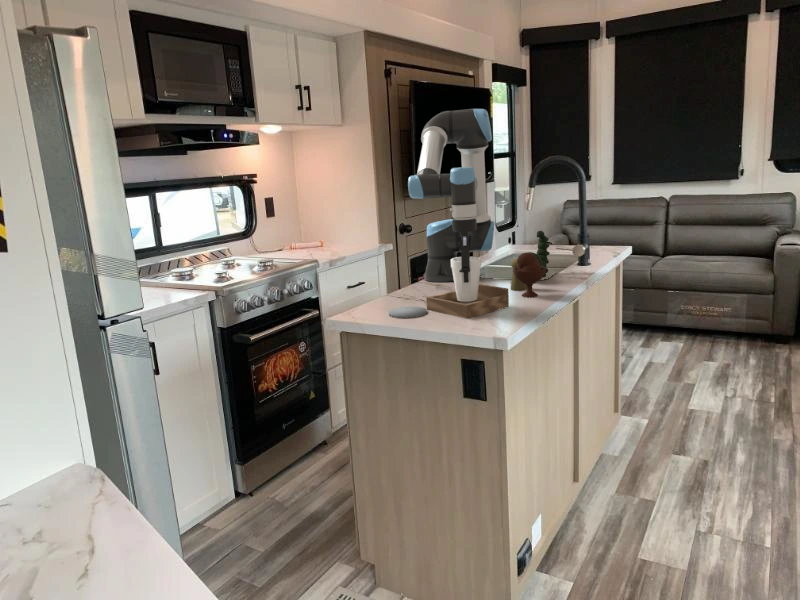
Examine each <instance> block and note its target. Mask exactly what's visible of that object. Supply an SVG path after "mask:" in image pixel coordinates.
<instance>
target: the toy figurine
mask: <svg viewBox="0 0 800 600" xmlns="http://www.w3.org/2000/svg"><path fill="white" fill-rule="evenodd" d="M536 238H538V243H537V251H536V253H535V252H532V251H531V252H530V251H529V252H526V253H531V254H533V255H534V256H535V257H536V259H538V261H539V262H540V266H543V267H545V268H546V273H545V275H544V276H543V278H547V277H546V276H547V274H548V273H549V269H548V268H547V265H548V264H549V262H550V261H549V258H548V256H549V255H550V251H548V248H550V244H549V243H548V241H549V237H547V236H546V235H545V232H544V231H543V230H538V231H537V232H536Z"/></svg>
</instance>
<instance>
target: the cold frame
mask: <svg viewBox="0 0 800 600" xmlns="http://www.w3.org/2000/svg"><path fill="white" fill-rule="evenodd" d="M425 299H426V310H429V311H432V312H436V313H439V314H440V313H441V314H445V315H450V316H454V317H458V318H463V319H469V318H470V319H472V318H473V317H477V316H480V315H485V314H488V313H492V312H495V311H500V310H503V309H506V308H505V307H507V308H509V305H510V303H509V301H510V300H509V288H507V287H501V286H496V285H489V284H488V285H487V284H483V283H479V287H478V297H477V300H474V301H472V302H470V303H469V302H468V303H463V302H464V301H458V300H457V295H456V290H453V291H449V292H443V293H440V294H435V295H431V296H426V298H425ZM502 308H503V309H502ZM499 309H500V310H499Z"/></svg>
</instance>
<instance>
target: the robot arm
mask: <svg viewBox="0 0 800 600" xmlns="http://www.w3.org/2000/svg"><path fill="white" fill-rule="evenodd" d="M420 135H421V137H420V141H421V143H422V145H421V151H420V156H419V162H418V166H417V173H416V174H414V175H410V176H409V177H408V181H407V187H408V190H407V191H408V195H409V197H410V198H411V199H421V200H424V199H435V198H436V199H437V198H451V207H450V208H449V211H450V212H451V217H452V219H451V218H450V219H444V220H443V219H442V220H440V221H439V220H438V221H434V222H430V223H428V225H427V226H426V246H427V264H426V267H425V271H424V274H423V275H424V280H425V281H427V282H434V283H445V282H454V278H453V272H452V267H451V259H452V258H456V257H458V253H460V257H461V263H462V268H461V270H459V272H462V293H470V292H471V275H470V260H469V257H470V255H471V254H470V253H478V252H479V253H481V252H489V251H491V250H492V248H493V241H494V232H495V221H494V220H491V219H492V218H491V215H489V213H487V193H486V192H487V191H486V187H487V186H486V166H485V165H486V163H485V151H486V149H487V148H488V147H489V142H491V141H492V140H493V136H492V129H491V122H490V117H489V113H488V110H487V109H484V108H469V109H468V108H467V109H459V110H446V111H441V112H440V113H438V114H436V115H435V116H433V117H432V118H431V119H430V120H429V121H427V122H426V124H425V125H424V127H423V129H422V131H421V134H420ZM447 144H450V145H451V144H456V149H457V150H458V151H459V152H460V155H461V157H460V158H461V167H452V168H451V169H450V173H441V168H442V161H443V154H444V148H445V147H446V145H447Z"/></svg>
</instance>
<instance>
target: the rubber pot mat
mask: <svg viewBox="0 0 800 600" xmlns="http://www.w3.org/2000/svg"><path fill="white" fill-rule="evenodd" d="M427 314H428V311H427V308H425V307H422V306H400V307H396V308H393V309H391V310H390V309H389V311H388V316H389V315H390V316H389V317H391V316H392V317H391V318H394V317H396V318H397V319H412V318H419V317H423V316H425V315H427ZM396 318H395V319H396Z"/></svg>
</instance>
